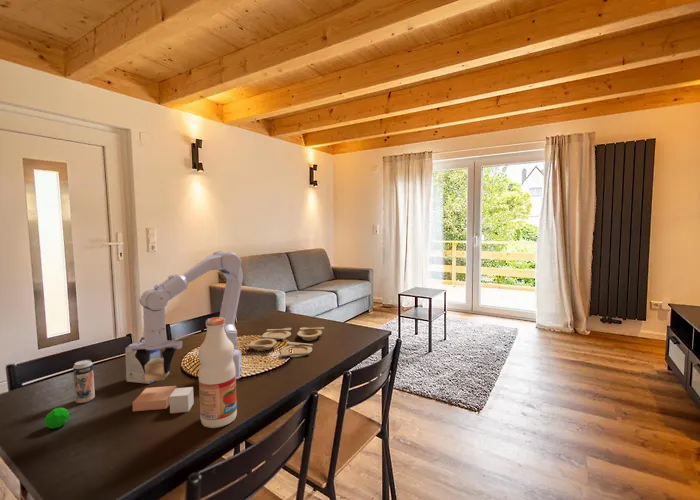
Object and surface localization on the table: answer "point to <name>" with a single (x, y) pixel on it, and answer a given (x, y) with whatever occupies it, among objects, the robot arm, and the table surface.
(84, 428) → the table surface
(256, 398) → the table surface
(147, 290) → the robot arm
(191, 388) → the grey cube
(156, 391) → the terracotta block
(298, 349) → the tableware set
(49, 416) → the polyhedron
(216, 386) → the fruit juice
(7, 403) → the table surface
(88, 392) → the beer can
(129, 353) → the ink cartridge box
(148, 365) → the maple cube
